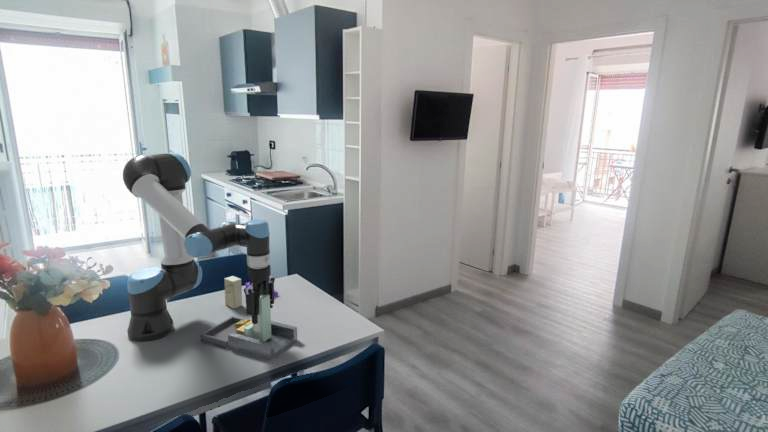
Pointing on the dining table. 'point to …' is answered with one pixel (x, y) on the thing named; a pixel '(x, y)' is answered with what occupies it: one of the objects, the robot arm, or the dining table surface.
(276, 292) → the bracket
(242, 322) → the dull yellow cube
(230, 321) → the chip tray
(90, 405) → the dining table surface
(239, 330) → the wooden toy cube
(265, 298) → the mint t-shaped block
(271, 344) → the slot rail
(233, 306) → the skincare box
